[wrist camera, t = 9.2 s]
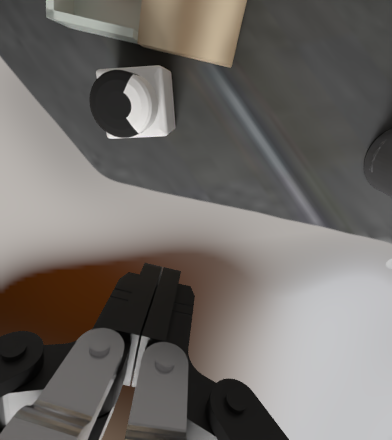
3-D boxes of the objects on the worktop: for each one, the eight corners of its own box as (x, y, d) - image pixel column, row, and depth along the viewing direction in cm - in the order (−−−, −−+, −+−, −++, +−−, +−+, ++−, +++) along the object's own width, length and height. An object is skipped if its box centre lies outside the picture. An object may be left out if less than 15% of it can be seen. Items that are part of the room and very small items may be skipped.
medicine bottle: (125, 131, 39) (89, 146, 28) (116, 74, 36) (72, 64, 25) (176, 129, 38) (159, 143, 27) (171, 70, 35) (151, 58, 24)
